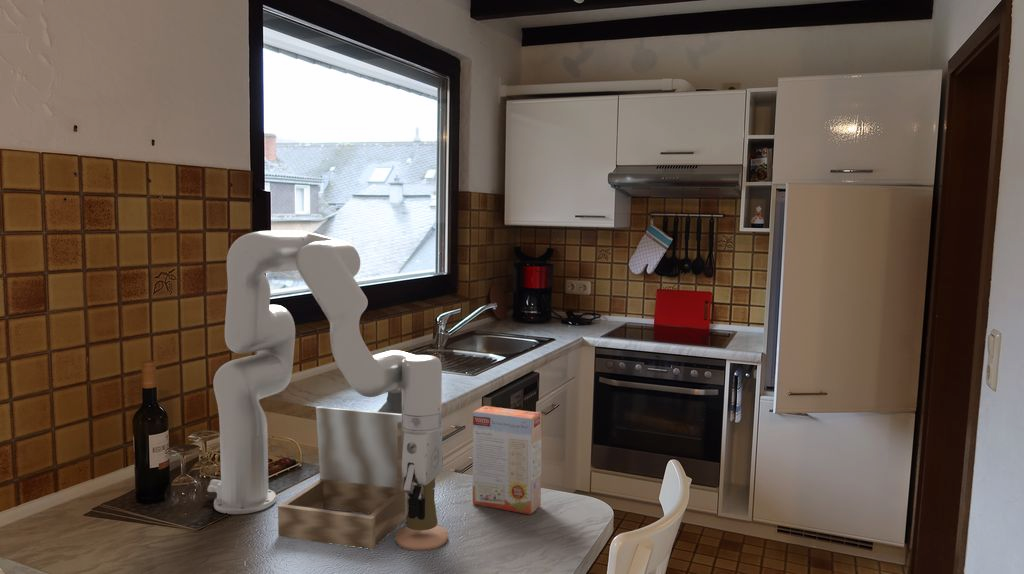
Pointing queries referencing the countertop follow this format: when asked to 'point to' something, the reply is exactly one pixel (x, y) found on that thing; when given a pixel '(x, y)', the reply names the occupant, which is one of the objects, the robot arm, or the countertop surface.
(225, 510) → the robot arm
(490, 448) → the cracker box
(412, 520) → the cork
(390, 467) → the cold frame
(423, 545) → the peach flat disc
